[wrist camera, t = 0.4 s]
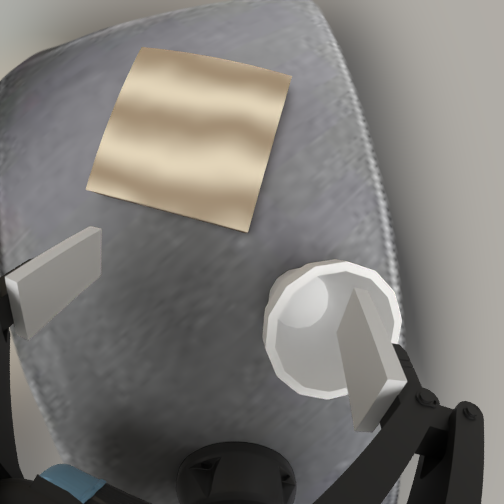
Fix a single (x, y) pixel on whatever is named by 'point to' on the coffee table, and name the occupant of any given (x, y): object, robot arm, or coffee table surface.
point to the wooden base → (191, 136)
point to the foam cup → (319, 323)
